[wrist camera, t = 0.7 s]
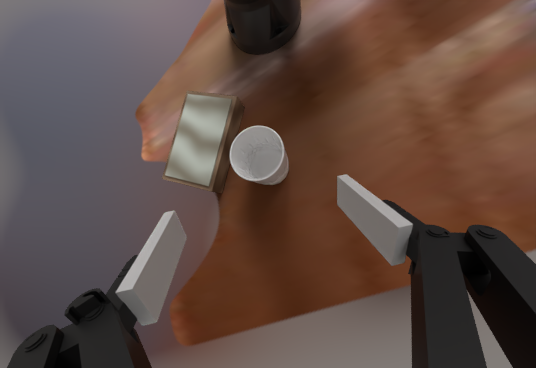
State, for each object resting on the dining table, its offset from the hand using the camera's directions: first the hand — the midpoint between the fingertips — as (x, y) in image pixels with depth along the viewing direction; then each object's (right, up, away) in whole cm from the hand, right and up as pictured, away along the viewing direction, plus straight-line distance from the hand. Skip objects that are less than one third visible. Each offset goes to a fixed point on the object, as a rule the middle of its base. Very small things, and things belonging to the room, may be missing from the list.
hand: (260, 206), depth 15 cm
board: (-12, +10, +24) cm, 29 cm away
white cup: (+1, +5, +21) cm, 21 cm away
